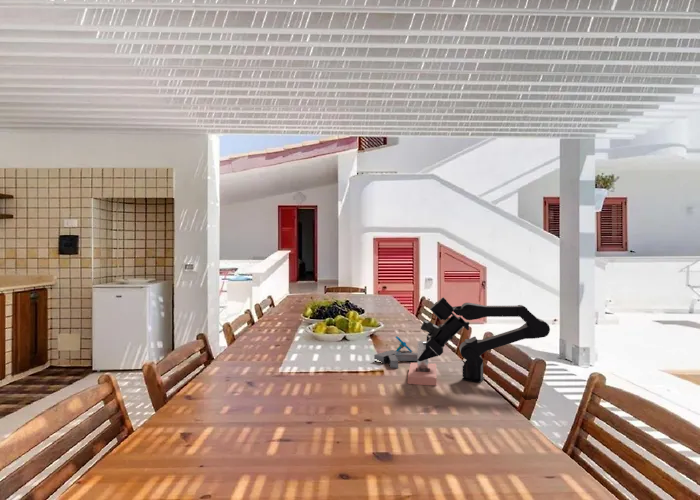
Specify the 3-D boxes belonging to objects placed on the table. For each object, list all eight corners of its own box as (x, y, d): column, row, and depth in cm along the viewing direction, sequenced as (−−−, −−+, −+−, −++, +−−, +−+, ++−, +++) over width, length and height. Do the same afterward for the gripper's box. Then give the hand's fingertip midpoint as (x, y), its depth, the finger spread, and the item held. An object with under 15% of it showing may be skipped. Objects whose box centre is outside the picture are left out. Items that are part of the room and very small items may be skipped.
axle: (429, 376, 168) (430, 341, 168) (425, 378, 165) (425, 343, 164) (420, 374, 170) (420, 340, 170) (415, 377, 167) (415, 342, 167)
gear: (414, 351, 201) (398, 335, 202) (405, 361, 200) (389, 344, 201) (411, 349, 212) (396, 334, 213) (403, 358, 211) (387, 343, 212)
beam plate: (410, 368, 178) (410, 362, 178) (436, 370, 176) (436, 363, 176) (407, 383, 158) (407, 376, 158) (436, 385, 157) (436, 378, 157)
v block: (421, 360, 191) (421, 353, 191) (394, 369, 177) (394, 361, 177) (396, 355, 200) (396, 348, 200) (369, 363, 187) (369, 356, 187)
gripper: (433, 309, 176) (405, 336, 178) (433, 317, 157) (402, 347, 159) (454, 330, 174) (425, 357, 176) (456, 340, 156) (424, 370, 158)
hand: (419, 357), depth 168 cm, fingers open, 9 cm apart
